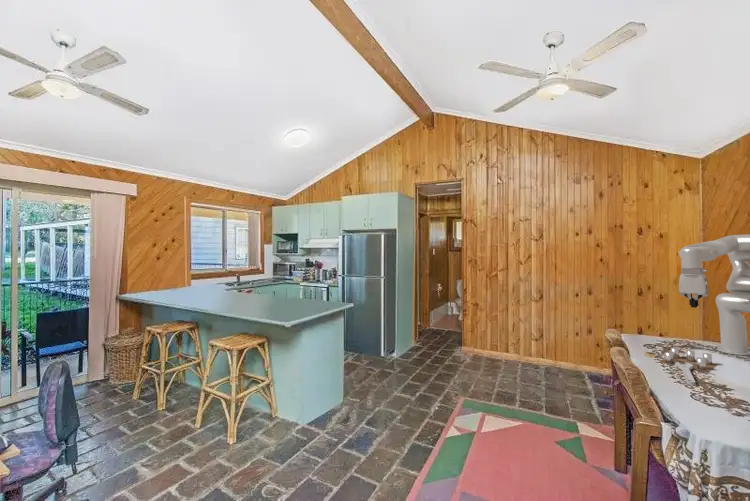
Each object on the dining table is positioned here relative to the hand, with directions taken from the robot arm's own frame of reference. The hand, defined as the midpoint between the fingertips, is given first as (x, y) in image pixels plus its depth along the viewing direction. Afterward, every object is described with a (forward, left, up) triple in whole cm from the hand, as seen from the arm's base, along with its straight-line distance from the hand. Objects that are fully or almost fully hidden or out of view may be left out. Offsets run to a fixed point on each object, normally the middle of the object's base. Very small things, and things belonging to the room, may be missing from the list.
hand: (694, 307), depth 162 cm
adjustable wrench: (+28, +2, -27) cm, 39 cm away
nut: (+11, -15, -27) cm, 33 cm away
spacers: (+11, -1, -27) cm, 29 cm away
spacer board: (+11, -1, -27) cm, 29 cm away
